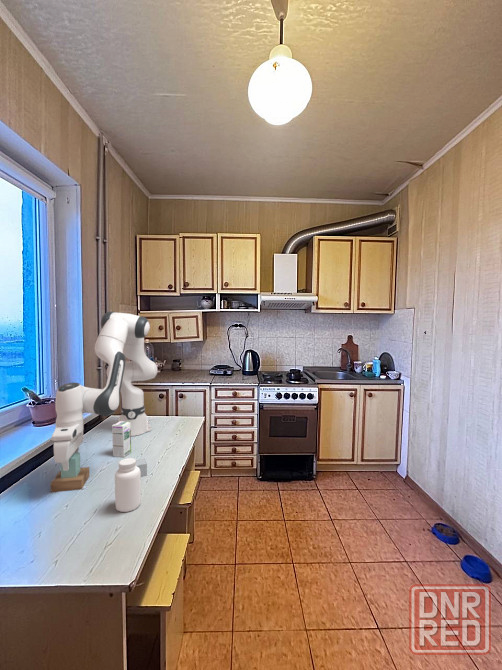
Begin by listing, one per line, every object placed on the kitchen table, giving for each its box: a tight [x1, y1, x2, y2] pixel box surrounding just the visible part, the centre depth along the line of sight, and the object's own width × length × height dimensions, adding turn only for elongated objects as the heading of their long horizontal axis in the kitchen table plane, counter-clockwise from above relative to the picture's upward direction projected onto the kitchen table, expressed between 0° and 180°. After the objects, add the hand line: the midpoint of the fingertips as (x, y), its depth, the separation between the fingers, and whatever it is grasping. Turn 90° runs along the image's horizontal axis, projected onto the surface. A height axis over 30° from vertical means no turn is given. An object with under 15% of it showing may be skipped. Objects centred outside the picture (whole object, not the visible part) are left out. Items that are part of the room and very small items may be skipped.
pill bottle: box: [114, 457, 142, 513], centre depth 103 cm, size 8×8×15 cm
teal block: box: [60, 452, 81, 478], centre depth 116 cm, size 5×5×7 cm
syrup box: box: [111, 421, 132, 458], centre depth 142 cm, size 6×6×14 cm
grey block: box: [136, 458, 148, 478], centre depth 124 cm, size 5×5×5 cm
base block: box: [50, 466, 90, 494], centre depth 116 cm, size 10×10×4 cm
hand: (70, 463), depth 116 cm, fingers open, 8 cm apart
